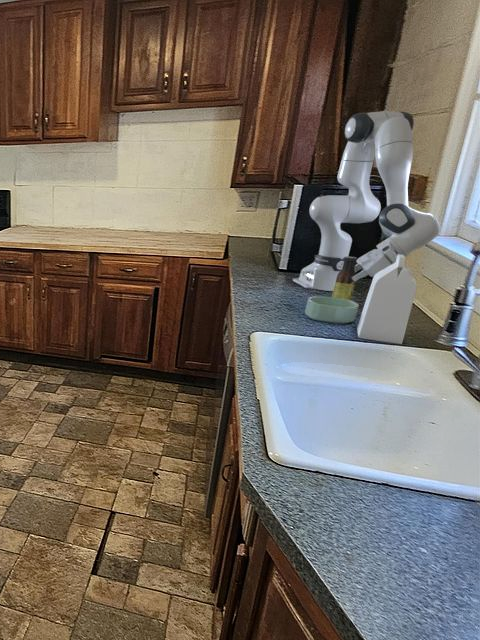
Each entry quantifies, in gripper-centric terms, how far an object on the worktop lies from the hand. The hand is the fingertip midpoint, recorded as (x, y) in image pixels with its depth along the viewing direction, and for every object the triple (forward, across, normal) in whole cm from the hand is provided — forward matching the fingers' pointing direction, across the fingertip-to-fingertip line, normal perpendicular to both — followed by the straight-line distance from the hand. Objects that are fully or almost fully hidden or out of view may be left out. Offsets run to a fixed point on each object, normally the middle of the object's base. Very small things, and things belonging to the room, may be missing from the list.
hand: (350, 276), depth 195 cm
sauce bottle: (+10, 0, +8) cm, 13 cm away
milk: (+5, +30, +14) cm, 33 cm away
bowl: (+13, +14, +5) cm, 20 cm away
